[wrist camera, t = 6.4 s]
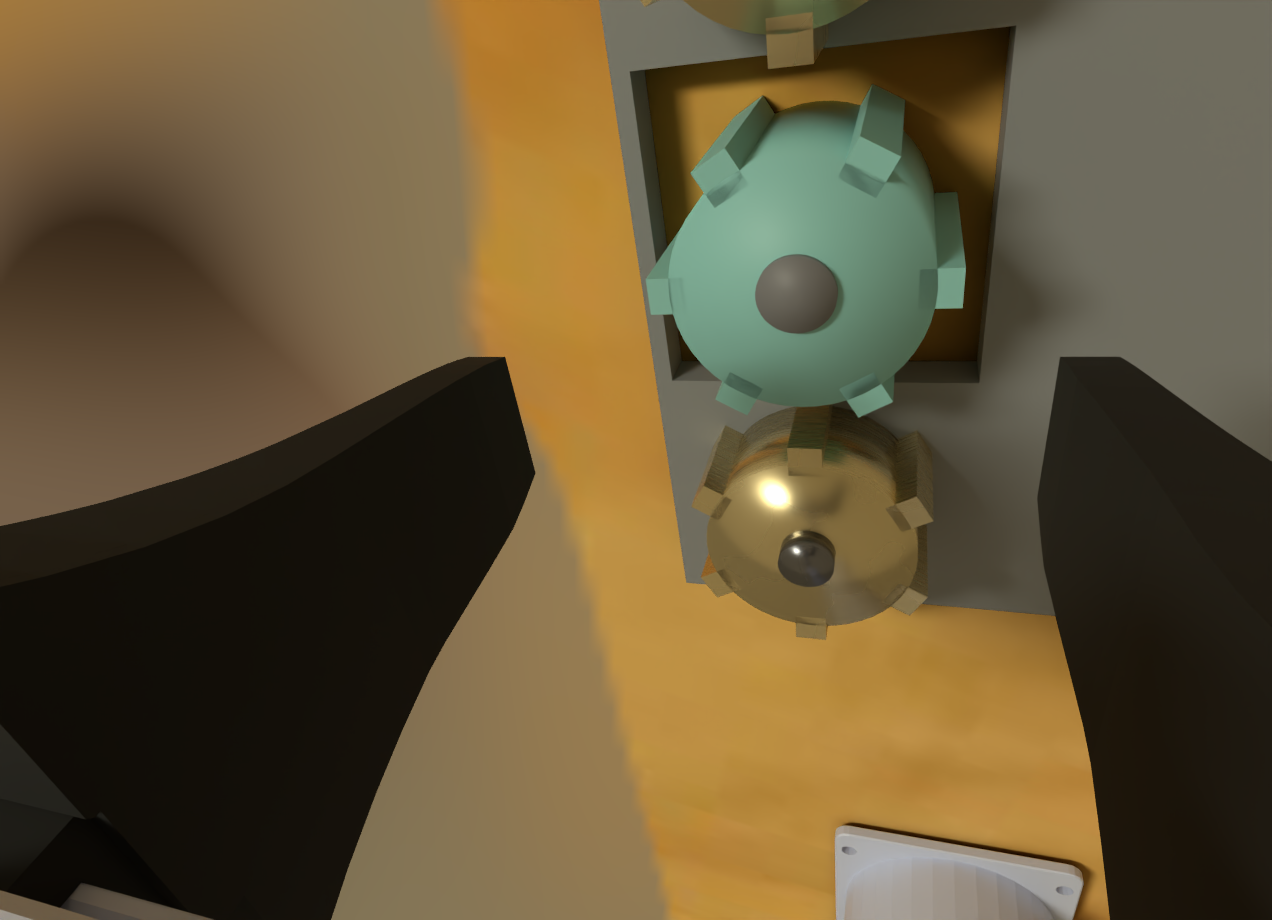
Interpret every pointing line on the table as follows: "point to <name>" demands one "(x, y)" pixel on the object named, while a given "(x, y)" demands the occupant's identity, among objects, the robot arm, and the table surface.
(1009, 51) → the gear board
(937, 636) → the table surface
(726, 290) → the teal gear
